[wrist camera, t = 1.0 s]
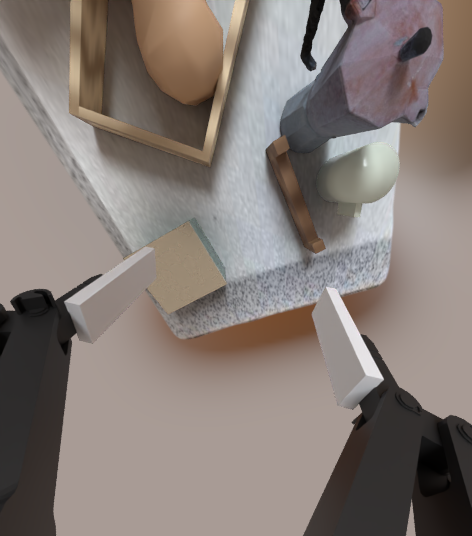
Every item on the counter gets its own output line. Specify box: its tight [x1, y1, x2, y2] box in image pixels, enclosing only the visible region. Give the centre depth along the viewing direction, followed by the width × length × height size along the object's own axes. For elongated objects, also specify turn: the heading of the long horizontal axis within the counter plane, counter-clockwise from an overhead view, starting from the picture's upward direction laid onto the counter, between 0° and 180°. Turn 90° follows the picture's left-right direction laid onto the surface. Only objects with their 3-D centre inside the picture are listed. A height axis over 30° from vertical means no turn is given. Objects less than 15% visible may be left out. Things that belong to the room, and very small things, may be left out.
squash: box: [131, 0, 223, 106], centre depth 24 cm, size 11×20×9 cm, turn 35°
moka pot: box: [280, 0, 443, 153], centre depth 23 cm, size 10×15×20 cm, turn 54°
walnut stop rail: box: [266, 135, 326, 254], centre depth 34 cm, size 20×2×5 cm, turn 28°
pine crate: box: [69, 0, 249, 167], centre depth 25 cm, size 28×19×5 cm
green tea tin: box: [123, 218, 227, 314], centre depth 35 cm, size 12×12×8 cm
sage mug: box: [316, 142, 400, 217], centre depth 32 cm, size 10×8×9 cm
